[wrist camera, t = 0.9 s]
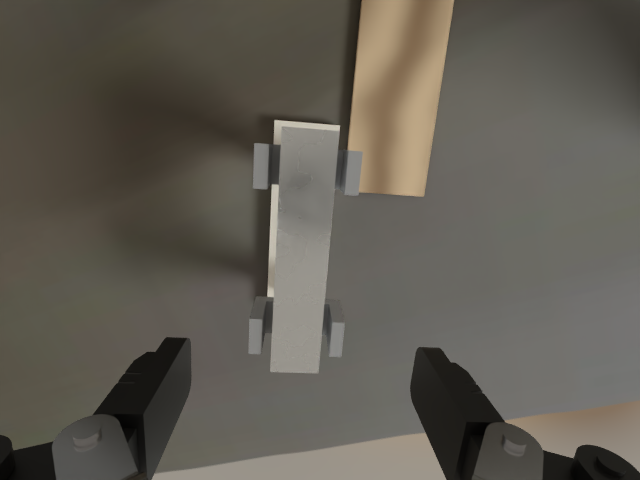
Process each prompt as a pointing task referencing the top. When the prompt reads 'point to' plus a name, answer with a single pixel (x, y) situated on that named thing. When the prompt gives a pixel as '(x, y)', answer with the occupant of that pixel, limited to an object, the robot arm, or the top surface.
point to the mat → (397, 91)
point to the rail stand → (262, 179)
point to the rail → (302, 246)
